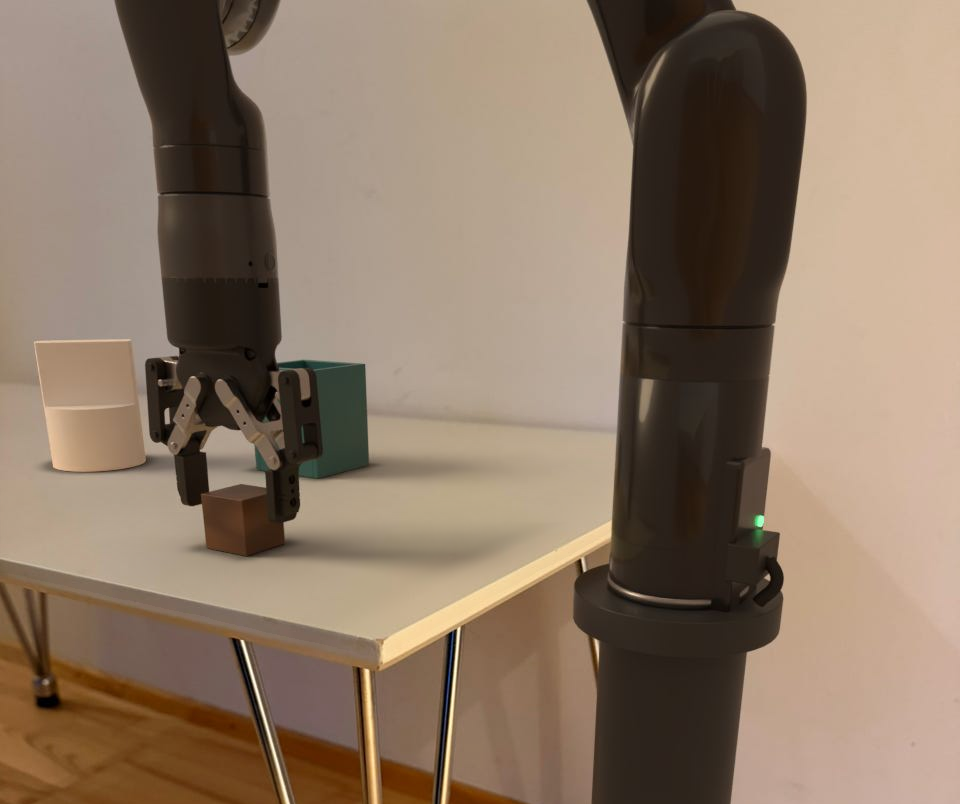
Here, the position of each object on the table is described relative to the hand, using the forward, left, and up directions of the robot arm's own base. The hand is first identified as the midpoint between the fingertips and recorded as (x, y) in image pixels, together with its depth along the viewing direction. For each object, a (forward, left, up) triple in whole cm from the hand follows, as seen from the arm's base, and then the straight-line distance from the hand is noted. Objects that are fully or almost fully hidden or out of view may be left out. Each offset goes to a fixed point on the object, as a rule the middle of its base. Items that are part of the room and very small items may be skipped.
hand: (238, 512), depth 71 cm
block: (0, 0, -3) cm, 3 cm away
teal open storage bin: (+11, -25, +2) cm, 28 cm away
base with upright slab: (+35, -15, -3) cm, 38 cm away
